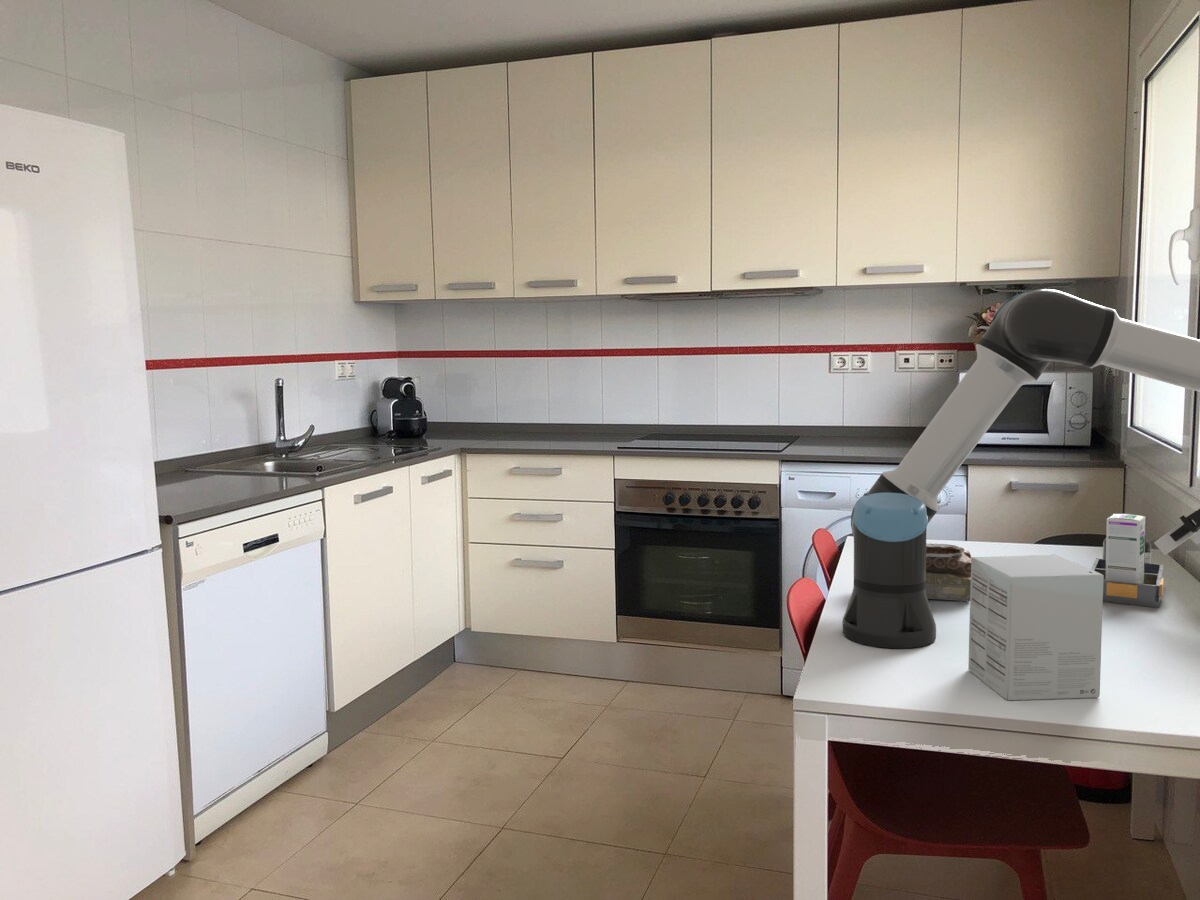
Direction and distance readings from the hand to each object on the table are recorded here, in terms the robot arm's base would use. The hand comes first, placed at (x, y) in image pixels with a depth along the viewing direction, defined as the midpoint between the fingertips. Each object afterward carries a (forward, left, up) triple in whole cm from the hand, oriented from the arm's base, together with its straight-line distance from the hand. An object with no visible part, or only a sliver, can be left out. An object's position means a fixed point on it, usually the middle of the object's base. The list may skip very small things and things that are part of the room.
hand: (1175, 543), depth 173 cm
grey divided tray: (+8, +8, -12) cm, 16 cm away
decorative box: (-15, +41, -12) cm, 46 cm away
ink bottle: (+26, +9, -12) cm, 30 cm away
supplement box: (-55, +16, -12) cm, 59 cm away
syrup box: (+3, +8, -11) cm, 14 cm away
